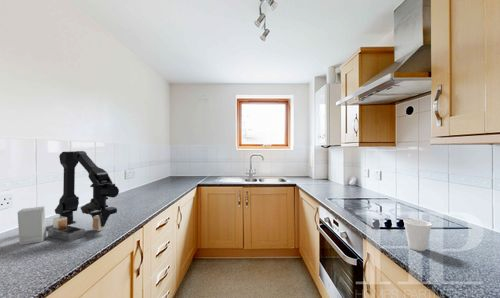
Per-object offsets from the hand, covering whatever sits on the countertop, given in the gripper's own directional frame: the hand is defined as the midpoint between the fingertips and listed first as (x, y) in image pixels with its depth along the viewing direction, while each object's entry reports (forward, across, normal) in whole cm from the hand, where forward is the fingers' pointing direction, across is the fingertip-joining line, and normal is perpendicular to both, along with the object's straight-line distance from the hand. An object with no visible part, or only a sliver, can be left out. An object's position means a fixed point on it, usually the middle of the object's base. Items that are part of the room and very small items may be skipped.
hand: (99, 226), depth 127 cm
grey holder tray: (+2, -5, -13) cm, 14 cm away
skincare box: (+2, -12, -23) cm, 26 cm away
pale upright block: (+2, 0, 0) cm, 2 cm away
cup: (+2, +144, +37) cm, 149 cm away
